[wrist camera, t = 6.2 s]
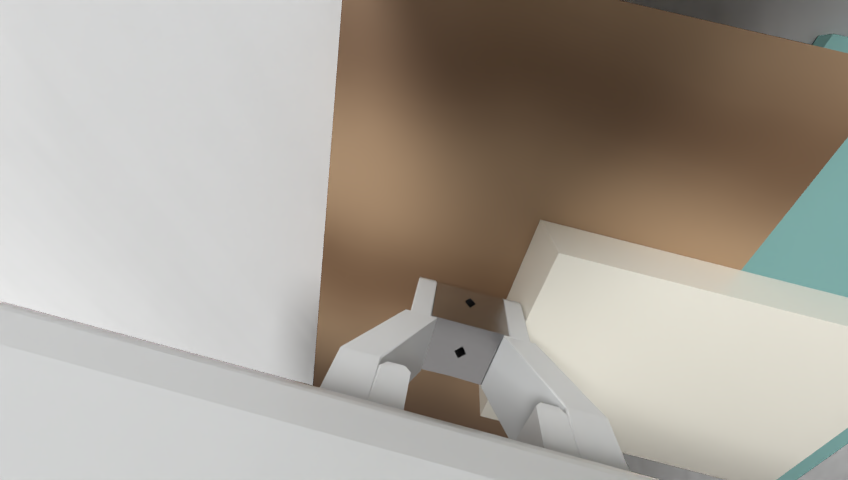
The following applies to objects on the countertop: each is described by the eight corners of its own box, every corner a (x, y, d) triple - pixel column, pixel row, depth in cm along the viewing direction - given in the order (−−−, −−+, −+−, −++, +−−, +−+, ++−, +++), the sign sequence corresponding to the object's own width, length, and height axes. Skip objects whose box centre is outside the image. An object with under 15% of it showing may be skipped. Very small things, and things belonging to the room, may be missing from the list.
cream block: (540, 219, 9) (558, 252, 7) (852, 298, 9) (950, 352, 7) (478, 365, 12) (480, 415, 10) (717, 427, 12) (763, 489, 10)
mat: (818, 35, 9) (833, 33, 8) (1246, 134, 9) (1280, 137, 8) (558, 425, 17) (560, 433, 17) (774, 482, 17) (780, 490, 16)
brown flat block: (381, -21, 9) (347, -63, 7) (778, 72, 9) (905, 66, 7) (336, 354, 17) (311, 405, 14) (558, 412, 16) (576, 475, 14)
